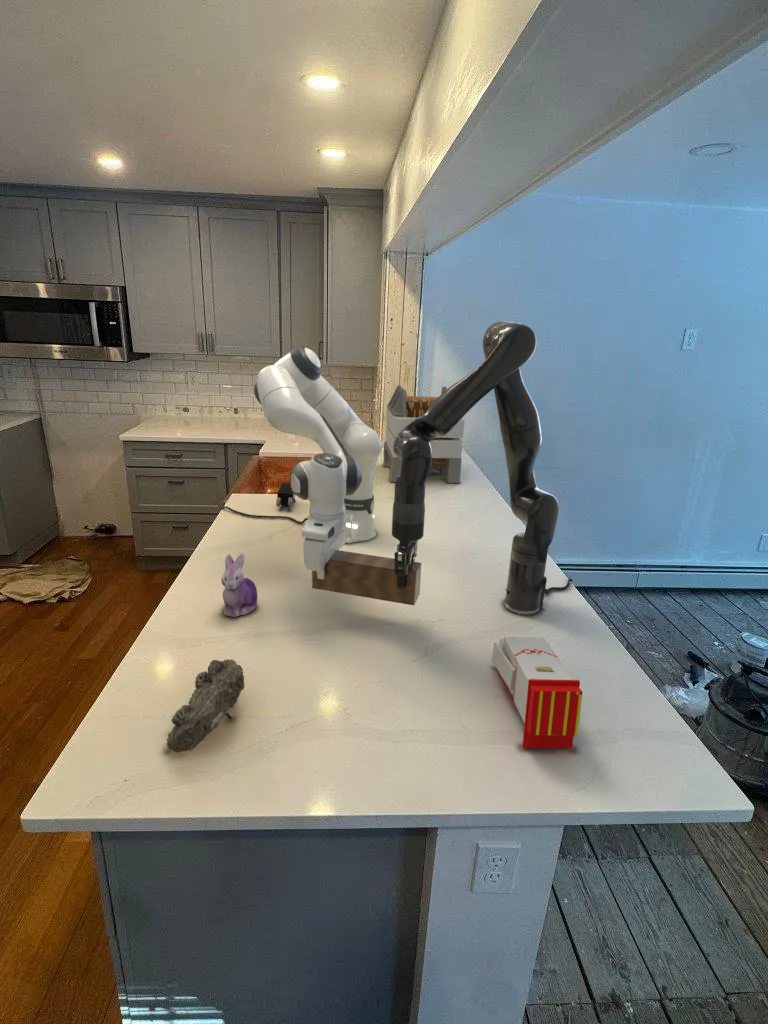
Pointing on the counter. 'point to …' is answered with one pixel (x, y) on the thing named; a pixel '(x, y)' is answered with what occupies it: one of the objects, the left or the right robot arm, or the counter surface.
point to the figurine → (237, 589)
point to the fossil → (206, 705)
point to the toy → (539, 691)
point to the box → (368, 577)
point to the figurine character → (285, 496)
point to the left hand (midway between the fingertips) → (326, 571)
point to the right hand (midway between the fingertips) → (404, 581)
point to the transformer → (443, 447)
